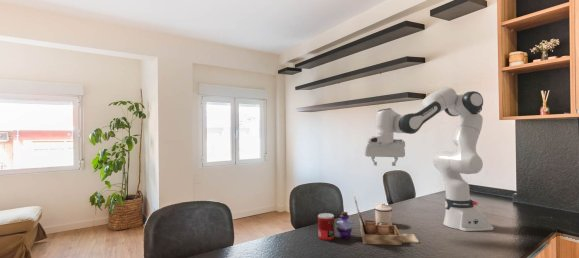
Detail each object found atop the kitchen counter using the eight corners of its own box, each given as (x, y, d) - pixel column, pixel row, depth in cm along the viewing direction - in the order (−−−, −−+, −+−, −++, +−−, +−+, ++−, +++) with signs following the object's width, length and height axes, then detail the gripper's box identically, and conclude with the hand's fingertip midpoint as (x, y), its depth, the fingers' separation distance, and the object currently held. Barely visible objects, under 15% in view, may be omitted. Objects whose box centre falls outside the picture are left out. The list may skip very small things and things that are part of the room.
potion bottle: (335, 233, 146) (334, 210, 146) (352, 233, 146) (351, 209, 146) (337, 240, 137) (336, 215, 138) (355, 240, 137) (354, 214, 137)
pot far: (375, 232, 145) (375, 219, 145) (377, 236, 140) (376, 222, 140) (364, 231, 146) (363, 218, 146) (365, 235, 141) (364, 222, 141)
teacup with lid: (396, 226, 155) (395, 204, 155) (380, 227, 153) (380, 205, 153) (384, 219, 167) (383, 199, 167) (369, 221, 165) (369, 200, 165)
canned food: (330, 241, 136) (330, 218, 136) (315, 238, 140) (315, 216, 140) (337, 236, 142) (336, 214, 142) (322, 234, 146) (321, 212, 147)
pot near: (388, 235, 141) (388, 221, 141) (390, 239, 135) (390, 225, 135) (376, 234, 142) (376, 221, 142) (378, 239, 136) (377, 224, 136)
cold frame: (395, 233, 145) (394, 193, 145) (402, 245, 130) (400, 201, 130) (354, 232, 148) (353, 193, 148) (356, 243, 133) (355, 200, 133)
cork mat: (413, 235, 141) (413, 234, 141) (419, 243, 131) (419, 241, 131) (398, 234, 142) (398, 233, 142) (403, 242, 133) (403, 241, 133)
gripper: (403, 139, 154) (403, 165, 154) (364, 138, 156) (363, 164, 156) (406, 139, 148) (406, 166, 147) (365, 139, 150) (365, 165, 150)
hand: (384, 165), depth 152 cm, fingers open, 8 cm apart
